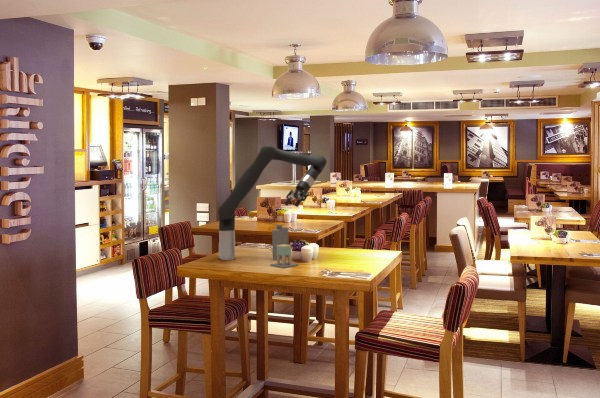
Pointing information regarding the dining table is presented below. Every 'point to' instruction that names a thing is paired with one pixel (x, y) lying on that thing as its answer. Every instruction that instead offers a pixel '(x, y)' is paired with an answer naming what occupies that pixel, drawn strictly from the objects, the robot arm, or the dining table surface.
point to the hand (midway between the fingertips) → (290, 205)
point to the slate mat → (284, 265)
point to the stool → (283, 253)
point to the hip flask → (279, 239)
